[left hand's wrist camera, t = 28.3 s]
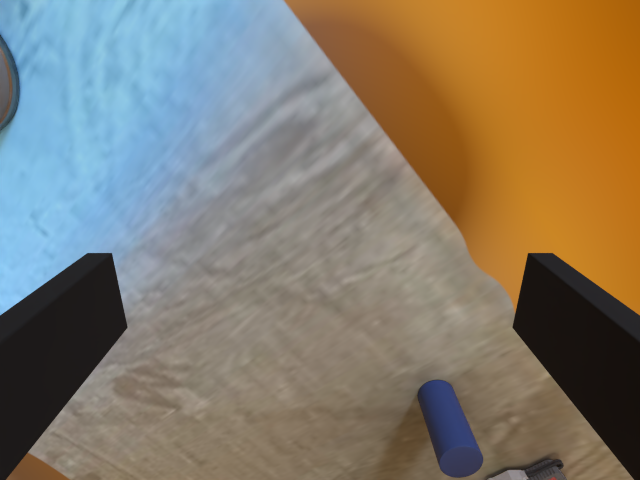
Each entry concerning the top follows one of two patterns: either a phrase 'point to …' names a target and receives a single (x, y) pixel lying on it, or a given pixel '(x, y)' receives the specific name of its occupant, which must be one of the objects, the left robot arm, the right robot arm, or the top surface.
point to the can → (449, 430)
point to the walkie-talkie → (535, 472)
